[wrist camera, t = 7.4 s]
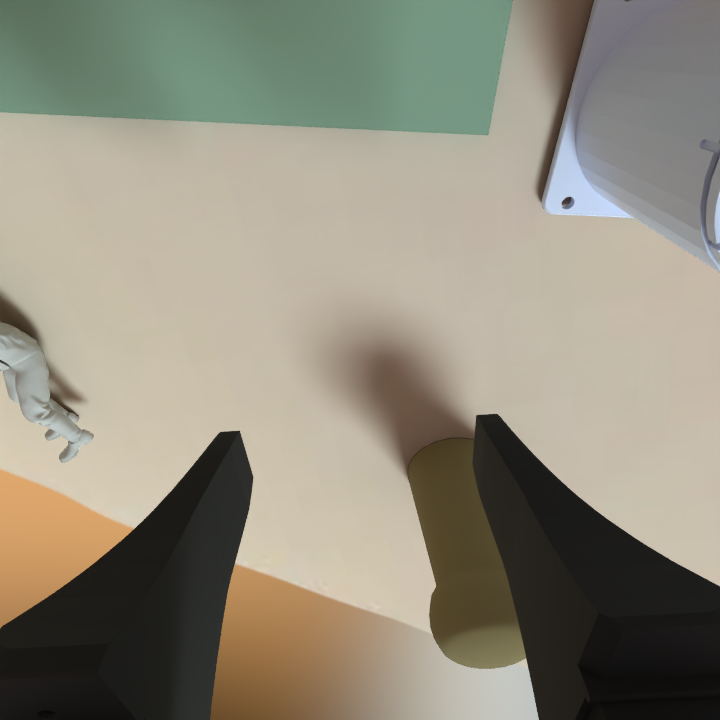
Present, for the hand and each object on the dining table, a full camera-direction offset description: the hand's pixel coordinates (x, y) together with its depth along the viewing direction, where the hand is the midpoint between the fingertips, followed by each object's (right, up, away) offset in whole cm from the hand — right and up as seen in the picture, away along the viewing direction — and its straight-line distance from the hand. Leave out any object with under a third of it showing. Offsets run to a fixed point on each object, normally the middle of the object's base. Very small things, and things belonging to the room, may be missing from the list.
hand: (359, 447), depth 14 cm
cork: (+6, -4, +16) cm, 18 cm away
